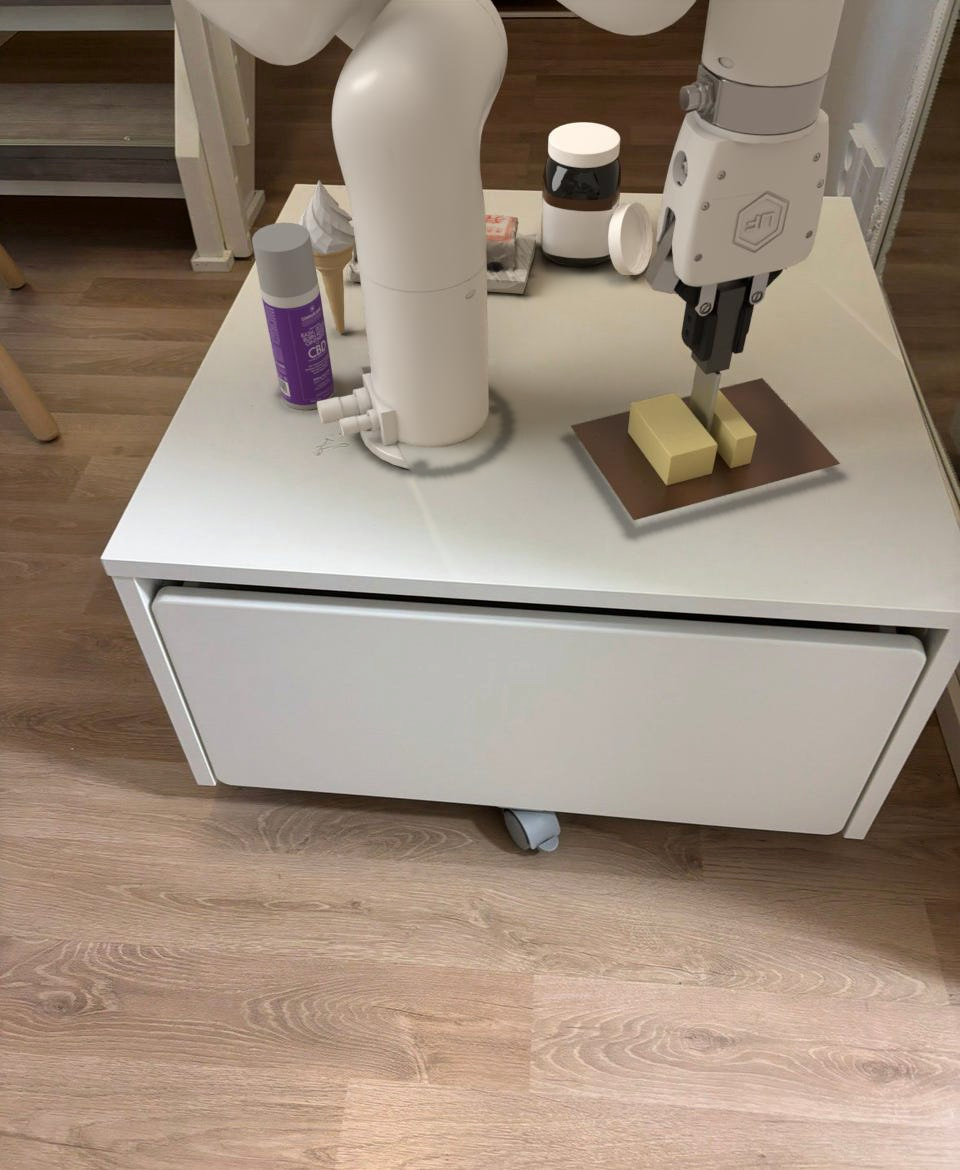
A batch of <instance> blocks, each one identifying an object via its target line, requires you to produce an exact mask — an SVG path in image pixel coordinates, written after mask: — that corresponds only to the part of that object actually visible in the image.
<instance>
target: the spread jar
mask: <svg viewBox="0 0 960 1170" xmlns="http://www.w3.org/2000/svg"><path fill="white" fill-rule="evenodd" d="M547 142H548V143H547V146H548V147H547V152H548V155H547V157H546V160H545V162H544V167H543V174H542V187H541V189H542V191H541V192H542V193H541V224H540V244H541V250H542V253H543V255H544V256H545V257H546V258H548V259H549V260H551V261H553V262H555V263H557V264H559V265H562V266H566V267H574V268H581V267H582V268H585V267H592V266H595V265H598V264H602V263H603V262H605V261H607V260H608V259H610V260H611V263H612V266H613V267H614V269H615V270H616V271H617V273H619V274H620V275H622V276H637V275H641V274H642V273H644V271H645V270H646V268H648V266H649V264H650V263H649V262H650V260H651V256H652V251H653V244H654V243H653V242H654V237H653V236H654V235H653V232H654V231H653V225H652V220H651V216H650V214H649V211H648V209H647V208H646V207H645V205H644V204H642V202H639V201H629V202H622V203H620V198H621V187H622V186H621V185H622V170H621V169H622V167H621V162H620V158H619V154H620V147H621V146H620V145H621V136H620V134H619V133H618V132H617V131H616V130H615V129H614V128H611V127H609V126H607V125H605V124H601V123H596V122H586V121H585V122H582V121H581V122H570V123H566V124H563V125H560V126H558V127H556V128H554V129H552V131H551V132H550V133H549V134H548V141H547Z"/></svg>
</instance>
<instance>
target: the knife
mask: <svg viewBox="0 0 960 1170" xmlns="http://www.w3.org/2000/svg"><path fill="white" fill-rule="evenodd" d="M745 289H746V286H745V285H744V284H743V283H742V282H741V281H740V280H739V279H736V280H732V281H727V282H722V283H718V285H717V290H716V295H715V301H714V306H713V310H714V311H715V313H716V314H718V323H717V328H716V333H715V339H714V344H713V350H712V355H711V358H709V360H707V361H703V362H701V361H700V360H699V359H698V358H697V357H696V355H695V354H694V353H693V352H692V351H691V353H690V354H691V355H690V358H691V359H692V360H693V361H694V363H695V364H696V365H695V369H694V376H693V382H692V388H691V394H690V396H691V398H690V404H689V409H690V411H691V412H692V413H693V414H694V416H695V417H696V418H697V419H698V421H699V422H700V423H701V424H702V425H703V427H704V428H705V429H706V430H707V432H708V433H709V434H710V430H711V424H712V419H713V414H714V409H715V404H716V399H717V394H718V389H720V383H721V378H722V372H723V371H727V370H729V369H730V367H731V362H732V357H733V353H732V350H733V345H734V340H735V336H736V331H737V326H738V321H739V316H740V311H741V308H742V303H743V298H744V294H745Z"/></svg>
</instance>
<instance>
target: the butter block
mask: <svg viewBox="0 0 960 1170" xmlns="http://www.w3.org/2000/svg"><path fill="white" fill-rule="evenodd" d="M681 398H682V397H680V395H679V394H678V393H677V392H676V391H675V392H670V393H667V394H662V395H659V396H655V397H651V398H647V399H642V400H639V401H634V402H631V403H630V410H629V411H630V418H629V426H628V433H629V434H630V436H631V437H632V439H633V440H634V441H635V443H636V444H637V445H638V447H639V448H640V450H641V451H642V452H643V454H644V455H645V457H646V458H647V459H648V461H649V462H650V463H651V465H652V466H653V468H654V469H655V470H656V472H657V473H658V475H659V476H660V477H661V479H662V480H663V481H664V483H665V484H666V485H671V484H675V483H678V482H682V481H686V480H690V479H693V478H697V477H701V476H704V475H708V474H711V473H712V471H713V466H714V461H715V456H716V451H717V446H718V444H717V443H716V442H715V440H714V439H713V438H712V437H711V435H710V434H709V433H708V432H707V430H706V429H705V428H704V427H703V425H702V424H701V423H700V422H699V421H698V419H697V418H696V417H695V416H694V414H693V413H692V412H691V411H690V409H689V408H688V407H687V406H686V404H685V403H684V402H683V401H682V399H681Z"/></svg>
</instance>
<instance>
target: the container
mask: <svg viewBox="0 0 960 1170" xmlns="http://www.w3.org/2000/svg"><path fill="white" fill-rule="evenodd" d="M251 241H252V247H253V253H254V259H255V264H256V271H257V277H258V282H259V283H258V284H259V288H260V294H261V300H262V301H261V302H262V305H263V310H264V314H265V320H266V324H267V329H268V336H269V340H270V345H271V349H272V354H273V355H272V356H273V359H274V360H273V361H274V366H275V369H276V374H277V380H278V385H279V390H280V394H281V399H282V401H283V402H284V404H285V405H287V406H288V407H290V408H293V409H295V410H301V411H308V410H314V409H318V408H317V401H321V400H326V399H330V398H334V397H335V394H336V393H335V392H336V390H335V382H334V375H333V368H332V363H331V361H332V360H331V357H330V356H331V355H330V349H329V342H328V337H327V329H326V322H325V317H324V310H323V302H322V298H321V289H320V284H319V279H318V274H317V273H318V272H317V269H316V267H315V261H314V256H313V250H312V245H311V239H310V234H309V231H308V230H307V229H306V228H305V227H303V226H301V225H299V224H297V223H294V222H277V223H271V224H267V225H265V226H263V227H261V228H259V229H258V230H257V231H256V232H254V234H253V236H252V237H251Z"/></svg>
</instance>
